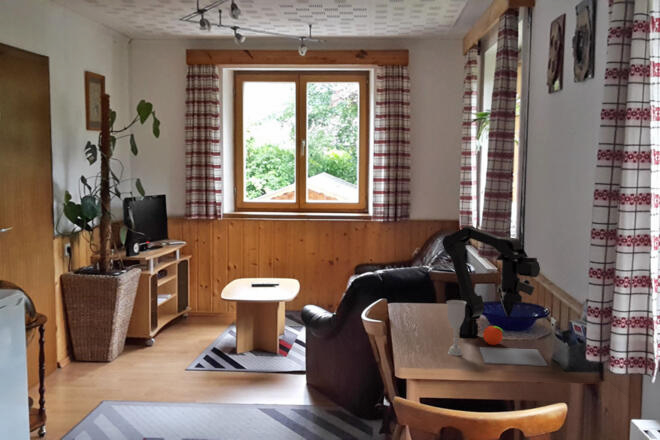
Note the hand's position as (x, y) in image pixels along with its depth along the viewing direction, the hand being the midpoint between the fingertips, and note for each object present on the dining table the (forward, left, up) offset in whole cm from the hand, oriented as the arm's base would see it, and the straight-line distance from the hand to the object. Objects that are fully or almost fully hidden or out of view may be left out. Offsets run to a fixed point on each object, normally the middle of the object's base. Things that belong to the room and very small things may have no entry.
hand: (508, 316), depth 231 cm
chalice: (-19, -11, -11) cm, 25 cm away
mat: (0, -12, -11) cm, 17 cm away
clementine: (-5, +2, -11) cm, 12 cm away
